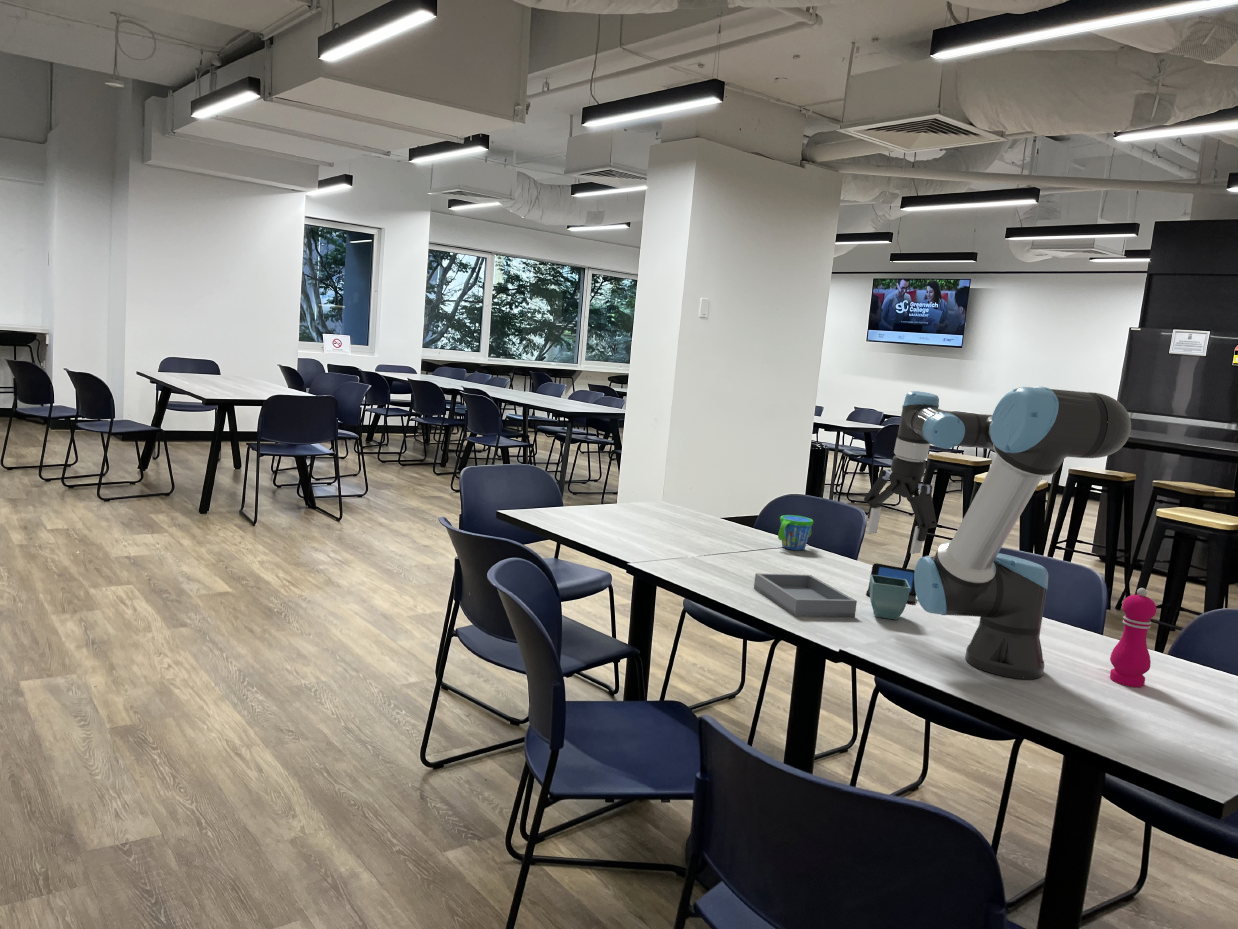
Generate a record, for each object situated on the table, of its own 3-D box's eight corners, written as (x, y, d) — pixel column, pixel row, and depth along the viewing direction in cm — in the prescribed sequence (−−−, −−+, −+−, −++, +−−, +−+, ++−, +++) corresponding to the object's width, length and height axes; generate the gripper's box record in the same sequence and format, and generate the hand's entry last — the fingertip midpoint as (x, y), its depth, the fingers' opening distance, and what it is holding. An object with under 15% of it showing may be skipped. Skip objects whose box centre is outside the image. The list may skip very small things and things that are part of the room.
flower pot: (906, 624, 208) (911, 587, 207) (868, 618, 210) (873, 582, 208) (901, 614, 216) (906, 579, 215) (865, 609, 218) (869, 574, 217)
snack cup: (789, 553, 277) (793, 522, 276) (765, 546, 285) (768, 515, 284) (821, 550, 286) (825, 520, 285) (796, 543, 295) (800, 514, 293)
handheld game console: (865, 597, 231) (868, 569, 230) (869, 588, 241) (872, 562, 240) (914, 606, 227) (918, 578, 226) (916, 597, 237) (920, 570, 236)
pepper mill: (1131, 689, 175) (1147, 593, 173) (1098, 676, 182) (1114, 583, 179) (1154, 687, 178) (1171, 592, 176) (1122, 674, 185) (1137, 583, 182)
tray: (854, 617, 210) (856, 600, 209) (794, 616, 205) (796, 599, 205) (808, 589, 233) (810, 574, 232) (753, 588, 228) (755, 573, 228)
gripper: (964, 472, 195) (945, 560, 200) (880, 443, 215) (865, 524, 221) (942, 473, 191) (923, 563, 197) (859, 444, 211) (844, 526, 217)
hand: (892, 542), depth 209 cm, fingers open, 13 cm apart
